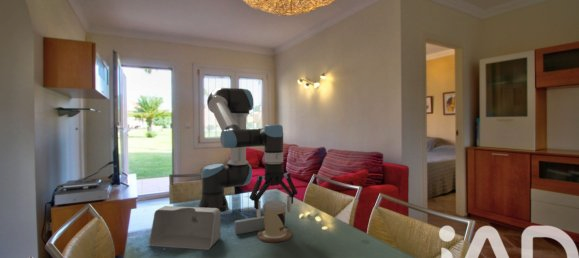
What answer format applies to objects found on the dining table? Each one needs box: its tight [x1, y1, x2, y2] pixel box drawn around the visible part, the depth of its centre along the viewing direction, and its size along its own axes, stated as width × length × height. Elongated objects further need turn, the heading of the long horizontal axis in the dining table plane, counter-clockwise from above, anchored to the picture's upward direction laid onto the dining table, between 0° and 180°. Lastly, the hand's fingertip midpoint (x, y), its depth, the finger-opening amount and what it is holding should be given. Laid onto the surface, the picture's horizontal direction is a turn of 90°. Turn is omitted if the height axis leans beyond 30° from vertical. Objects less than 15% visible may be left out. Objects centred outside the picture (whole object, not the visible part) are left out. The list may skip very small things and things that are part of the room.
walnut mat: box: [257, 227, 293, 244], centre depth 113 cm, size 14×14×1 cm
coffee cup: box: [262, 200, 287, 237], centre depth 113 cm, size 9×9×12 cm
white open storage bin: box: [148, 205, 222, 250], centre depth 110 cm, size 25×16×12 cm, turn 81°
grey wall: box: [234, 215, 265, 235], centre depth 119 cm, size 2×22×5 cm, turn 116°
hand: (274, 214), depth 113 cm, fingers open, 13 cm apart
